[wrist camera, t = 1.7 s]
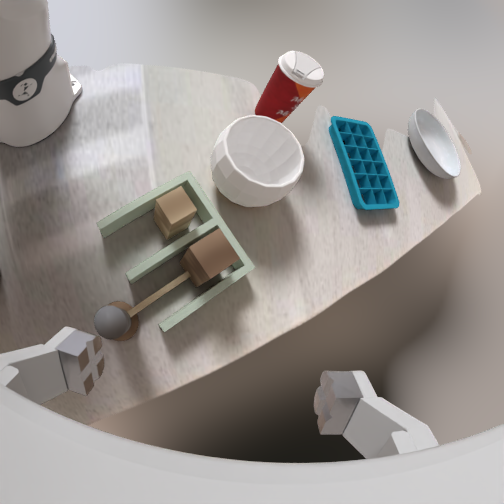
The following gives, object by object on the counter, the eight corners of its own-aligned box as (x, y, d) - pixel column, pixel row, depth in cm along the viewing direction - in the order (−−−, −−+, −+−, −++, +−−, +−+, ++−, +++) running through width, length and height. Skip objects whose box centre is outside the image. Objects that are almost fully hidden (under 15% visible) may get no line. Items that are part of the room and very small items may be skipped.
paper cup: (280, 138, 49) (321, 90, 36) (242, 116, 47) (275, 62, 35) (292, 113, 52) (331, 67, 39) (258, 93, 50) (290, 42, 37)
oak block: (153, 219, 38) (156, 199, 32) (174, 207, 40) (181, 185, 33) (166, 240, 38) (171, 224, 32) (188, 227, 40) (197, 209, 33)
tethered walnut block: (94, 315, 33) (76, 313, 23) (201, 244, 40) (220, 220, 30) (116, 347, 33) (105, 358, 23) (221, 274, 40) (247, 259, 31)
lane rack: (100, 232, 35) (96, 223, 32) (185, 183, 41) (189, 170, 37) (162, 330, 35) (164, 332, 32) (245, 272, 41) (255, 267, 38)
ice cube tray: (351, 215, 51) (362, 209, 49) (321, 123, 54) (329, 115, 52) (390, 212, 56) (400, 207, 53) (361, 129, 59) (369, 122, 56)
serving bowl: (438, 200, 64) (457, 191, 58) (389, 138, 62) (408, 125, 56) (448, 161, 73) (463, 153, 66) (406, 109, 70) (421, 98, 64)
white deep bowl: (206, 140, 44) (223, 102, 35) (277, 155, 48) (305, 124, 39) (198, 211, 41) (214, 182, 32) (278, 223, 45) (311, 200, 36)
